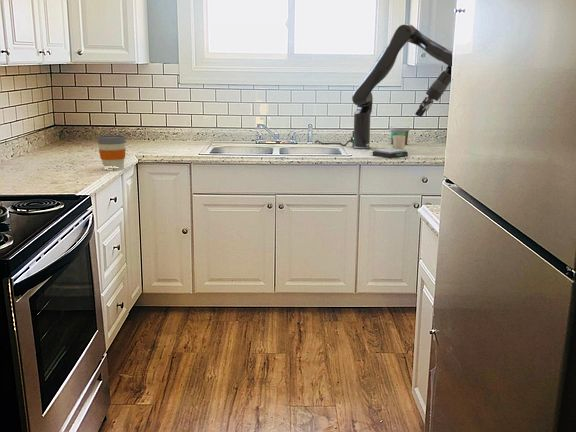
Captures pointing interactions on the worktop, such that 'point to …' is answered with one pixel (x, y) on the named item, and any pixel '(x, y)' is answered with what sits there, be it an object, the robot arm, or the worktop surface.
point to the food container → (399, 133)
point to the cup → (399, 142)
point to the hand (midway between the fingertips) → (418, 115)
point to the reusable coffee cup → (112, 150)
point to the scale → (390, 153)
